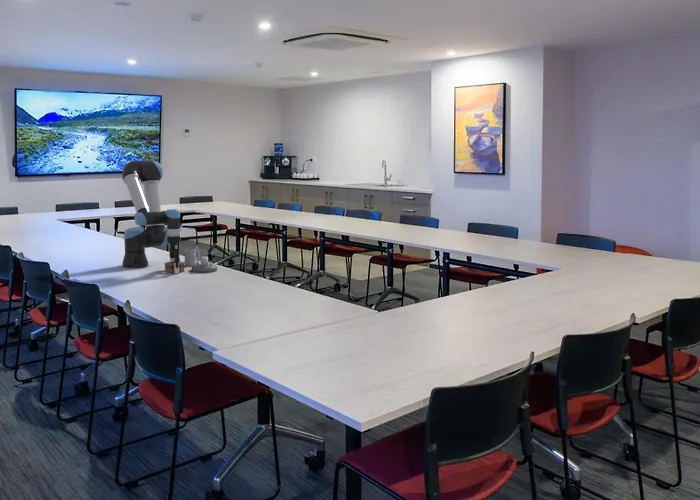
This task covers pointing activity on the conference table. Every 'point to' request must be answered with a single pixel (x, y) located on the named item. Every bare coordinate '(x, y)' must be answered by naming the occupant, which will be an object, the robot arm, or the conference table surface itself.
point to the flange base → (202, 269)
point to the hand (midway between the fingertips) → (174, 271)
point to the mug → (191, 256)
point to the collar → (170, 267)
